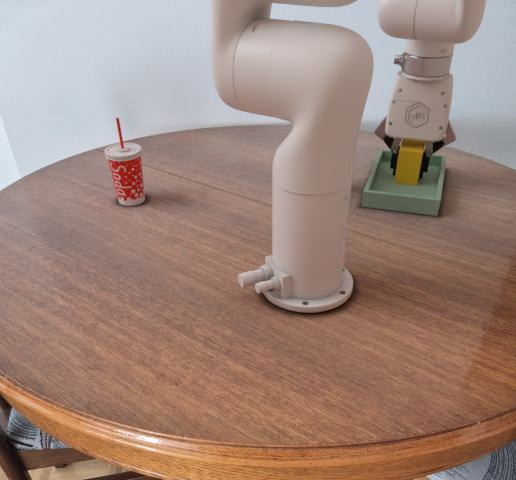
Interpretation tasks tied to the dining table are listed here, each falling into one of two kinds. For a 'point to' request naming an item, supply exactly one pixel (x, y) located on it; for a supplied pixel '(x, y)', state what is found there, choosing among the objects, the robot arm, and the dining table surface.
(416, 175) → the yellow rectangular block
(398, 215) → the dining table surface
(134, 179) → the beverage cup
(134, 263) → the dining table surface
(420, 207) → the pan
